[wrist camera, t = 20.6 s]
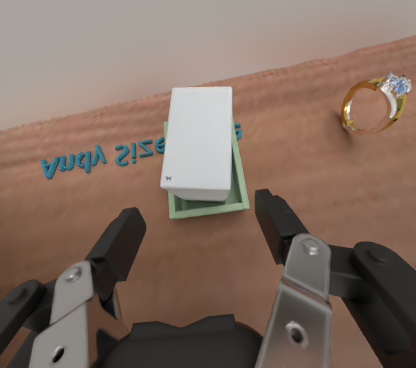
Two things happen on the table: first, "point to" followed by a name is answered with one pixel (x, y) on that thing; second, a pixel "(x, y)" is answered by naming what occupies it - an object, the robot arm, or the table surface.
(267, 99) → the table surface
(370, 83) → the ring
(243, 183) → the holder
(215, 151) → the cosmetics box
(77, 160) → the nameplate
